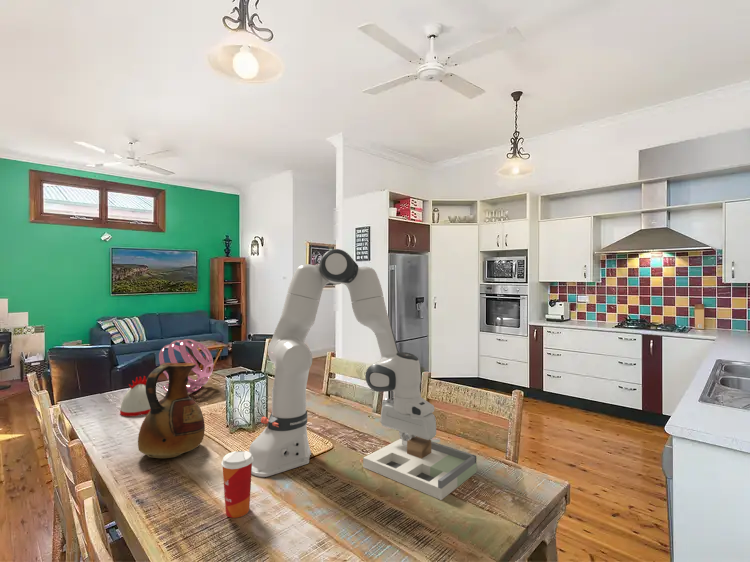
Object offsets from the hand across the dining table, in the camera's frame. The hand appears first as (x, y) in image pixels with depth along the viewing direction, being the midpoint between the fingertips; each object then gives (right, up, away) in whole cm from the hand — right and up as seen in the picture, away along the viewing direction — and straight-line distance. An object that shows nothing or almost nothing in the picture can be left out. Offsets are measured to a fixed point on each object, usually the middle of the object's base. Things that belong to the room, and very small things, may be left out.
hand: (407, 445), depth 131 cm
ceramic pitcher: (-79, -4, +5) cm, 79 cm away
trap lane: (+3, -4, -8) cm, 9 cm away
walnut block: (+4, -1, -3) cm, 5 cm away
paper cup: (-45, -5, -30) cm, 54 cm away
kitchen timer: (-114, -4, +46) cm, 123 cm away
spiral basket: (-106, -3, +75) cm, 130 cm away
